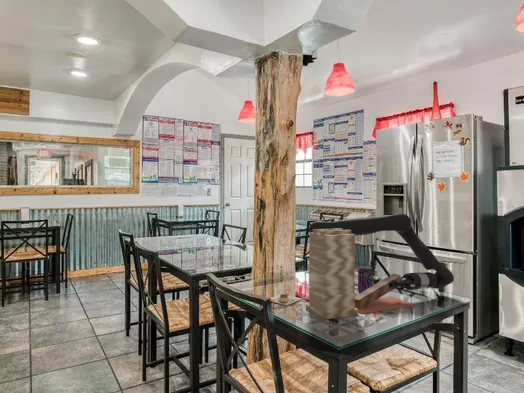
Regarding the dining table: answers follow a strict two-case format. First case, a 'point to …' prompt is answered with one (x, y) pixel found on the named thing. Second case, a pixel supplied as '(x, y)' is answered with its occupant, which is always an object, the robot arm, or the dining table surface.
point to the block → (375, 291)
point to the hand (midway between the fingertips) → (386, 283)
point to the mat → (384, 305)
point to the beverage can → (365, 278)
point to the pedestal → (332, 273)
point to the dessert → (284, 298)
